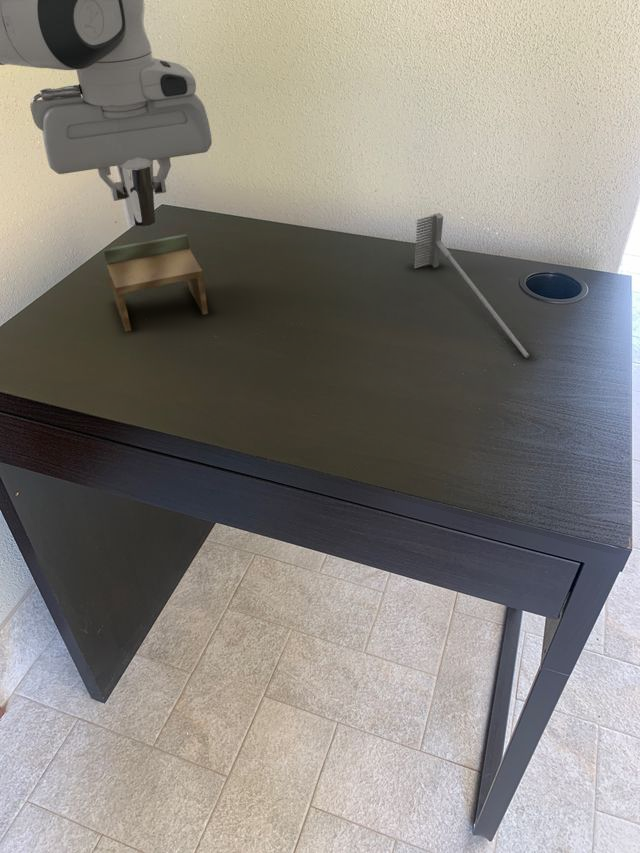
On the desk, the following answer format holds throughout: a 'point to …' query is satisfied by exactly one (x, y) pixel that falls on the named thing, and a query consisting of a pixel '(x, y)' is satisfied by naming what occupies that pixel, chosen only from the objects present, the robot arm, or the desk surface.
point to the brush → (432, 257)
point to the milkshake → (138, 190)
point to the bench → (153, 269)
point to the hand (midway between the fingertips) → (139, 195)
